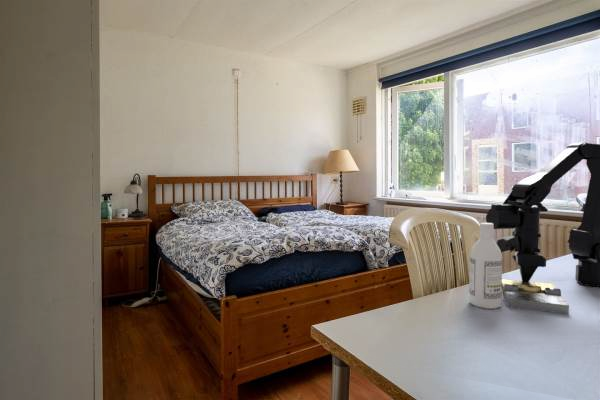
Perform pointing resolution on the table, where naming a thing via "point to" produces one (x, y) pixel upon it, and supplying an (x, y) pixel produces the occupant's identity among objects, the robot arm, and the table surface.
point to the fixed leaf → (536, 299)
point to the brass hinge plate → (528, 286)
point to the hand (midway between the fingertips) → (524, 283)
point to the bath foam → (485, 270)
